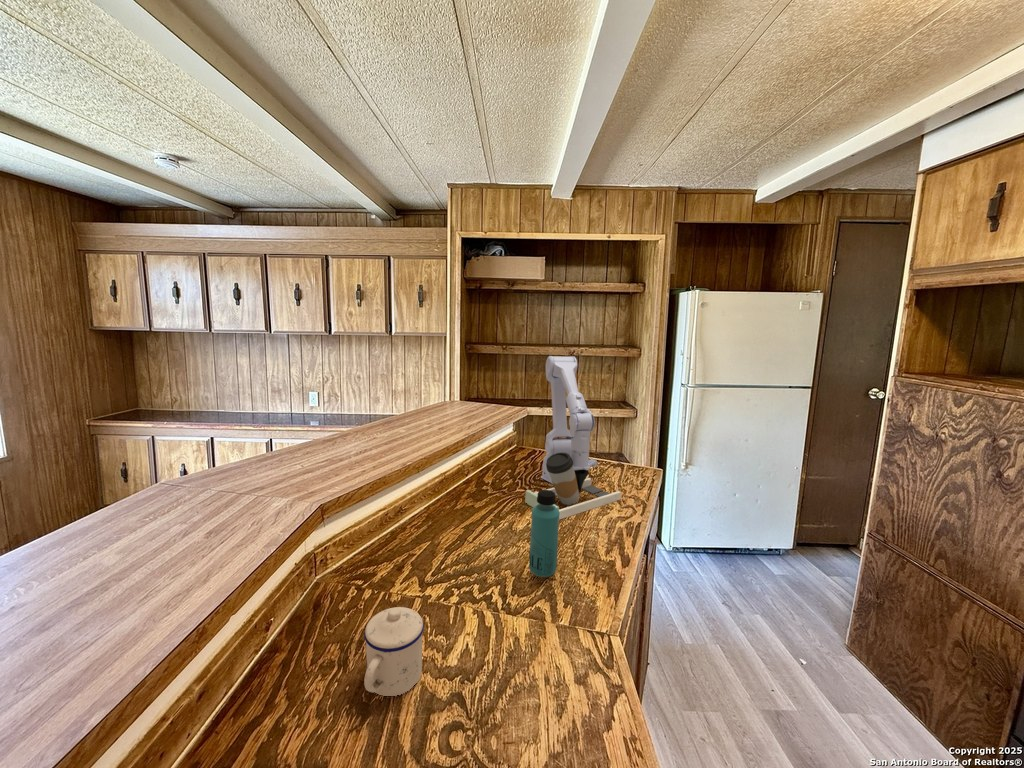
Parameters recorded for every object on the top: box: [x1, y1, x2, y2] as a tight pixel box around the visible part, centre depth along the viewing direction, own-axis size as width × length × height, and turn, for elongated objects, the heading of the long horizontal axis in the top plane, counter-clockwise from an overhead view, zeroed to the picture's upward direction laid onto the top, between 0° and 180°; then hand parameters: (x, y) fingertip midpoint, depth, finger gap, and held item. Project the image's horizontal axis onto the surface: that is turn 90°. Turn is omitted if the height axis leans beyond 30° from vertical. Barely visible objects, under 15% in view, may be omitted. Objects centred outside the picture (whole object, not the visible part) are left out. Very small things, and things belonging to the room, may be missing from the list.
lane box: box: [534, 477, 622, 521], centre depth 139 cm, size 14×28×2 cm, turn 126°
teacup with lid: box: [363, 606, 425, 697], centre depth 69 cm, size 12×9×12 cm
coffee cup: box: [546, 452, 580, 506], centre depth 136 cm, size 8×8×15 cm
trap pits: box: [581, 484, 611, 498], centre depth 146 cm, size 11×5×1 cm, turn 36°
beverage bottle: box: [528, 489, 560, 578], centre depth 98 cm, size 6×7×20 cm
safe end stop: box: [524, 489, 560, 510], centre depth 131 cm, size 14×1×4 cm, turn 36°
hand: (577, 491), depth 139 cm, fingers closed, pressing on coffee cup
